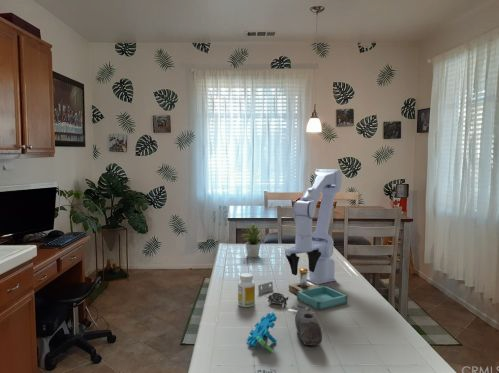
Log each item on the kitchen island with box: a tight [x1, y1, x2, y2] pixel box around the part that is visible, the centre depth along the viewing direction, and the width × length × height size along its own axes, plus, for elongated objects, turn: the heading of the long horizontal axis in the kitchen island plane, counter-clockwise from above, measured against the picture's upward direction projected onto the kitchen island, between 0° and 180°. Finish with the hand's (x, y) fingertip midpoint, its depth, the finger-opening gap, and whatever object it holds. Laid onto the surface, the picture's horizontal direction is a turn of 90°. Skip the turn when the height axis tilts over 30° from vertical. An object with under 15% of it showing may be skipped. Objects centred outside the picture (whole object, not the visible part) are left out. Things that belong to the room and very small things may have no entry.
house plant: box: [240, 222, 263, 258], centre depth 181 cm, size 14×14×16 cm
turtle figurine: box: [267, 292, 312, 313], centre depth 118 cm, size 15×7×4 cm, turn 66°
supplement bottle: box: [237, 272, 256, 308], centre depth 121 cm, size 5×5×10 cm
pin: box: [298, 267, 309, 288], centre depth 132 cm, size 3×3×8 cm
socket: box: [288, 282, 317, 295], centre depth 132 cm, size 7×7×2 cm
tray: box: [296, 285, 348, 312], centre depth 124 cm, size 12×11×2 cm
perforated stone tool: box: [294, 308, 323, 347], centre depth 99 cm, size 15×5×7 cm, turn 5°
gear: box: [246, 311, 278, 353], centre depth 95 cm, size 11×6×10 cm
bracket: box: [257, 281, 289, 299], centre depth 128 cm, size 7×10×3 cm, turn 39°
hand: (303, 272), depth 132 cm, fingers open, 7 cm apart
